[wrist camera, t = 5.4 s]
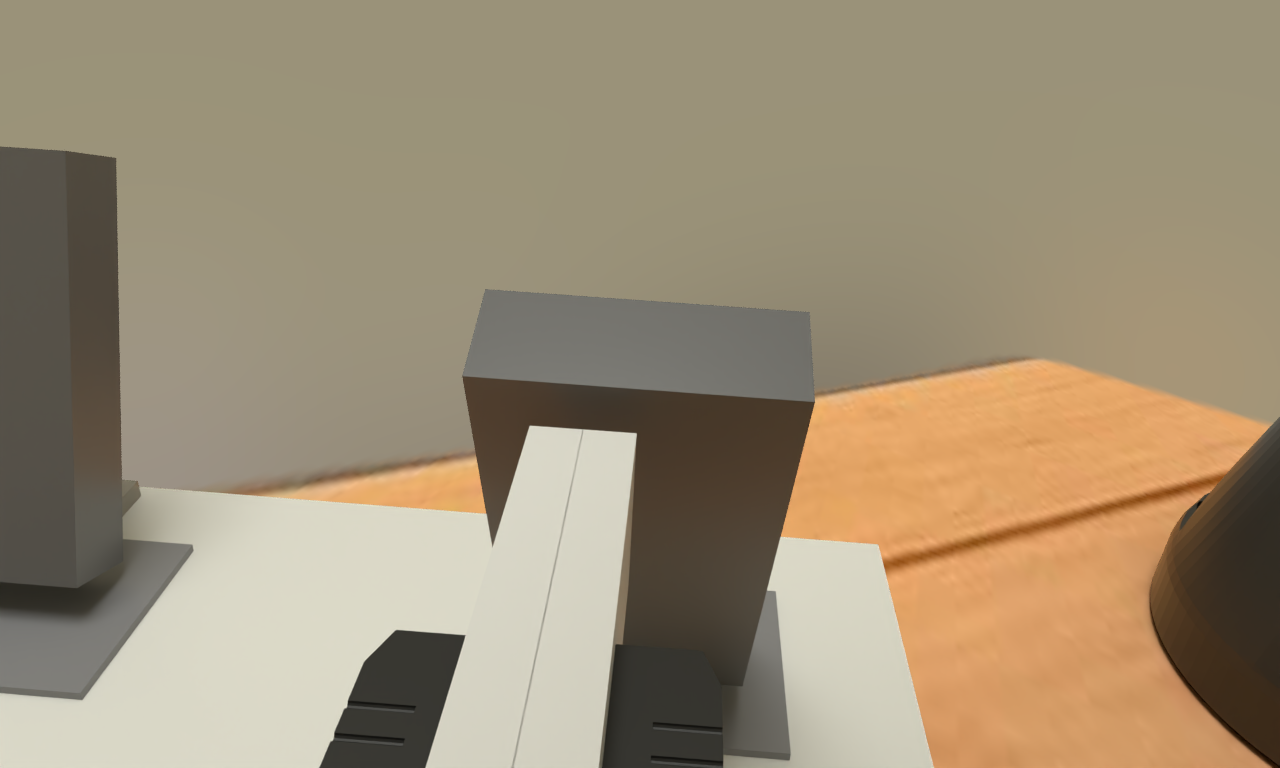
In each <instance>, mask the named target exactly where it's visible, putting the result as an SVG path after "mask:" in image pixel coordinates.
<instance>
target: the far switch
mask: <svg viewBox="0 0 1280 768" xmlns="http://www.w3.org/2000/svg"><path fill="white" fill-rule="evenodd" d="M116 187H117V186H116V158H112V157H104V156H97V155H90V154H83V153H76V152H69V151H57V150H42V149H27V148H12V147H0V582H7V583H19V584H32V585H44V586H56V587H68V588H78V587H80V586H82V585H83V584H85V583H87V582H88V581H90V580H92V579H94V578H95V577H97V576H99V575H100V574H102V573H104V572H106V571H107V570H109V569H111V568H112V567H114V566H116V565H118V564H119V563H121V562H123V520H122V465H121V411H120V410H121V409H120V353H119V300H118V299H119V298H118V247H117V246H118V243H117V191H116V190H117V189H116Z"/></svg>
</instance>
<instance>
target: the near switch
mask: <svg viewBox="0 0 1280 768" xmlns="http://www.w3.org/2000/svg"><path fill="white" fill-rule="evenodd" d="M463 383H464V388H465V394H466V400H467V406H468V411H469V416H470V422H471V428H472V434H473V440H474V445H475V451H476V457H477V463H478V468H479V474H480V480H481V485H482V491H483V497H484V502H485V508H486V514H487V520H488V525H489V531H490V537H491V542H492V548H493V545H494V541H495V538H496V535H497V531H498V528H499V525H500V522H501V518H502V515H503V512H504V508H505V505H506V502H507V499H508V495H509V492H510V489H511V485H512V482H513V479H514V476H515V472H516V469H517V466H518V462H519V459H520V456H521V453H522V449H523V446H524V443H525V440H526V436H527V433H528V430H529V426H541V427H556V428H570V429H584V430H598V431H612V432H626V433H637V439H636V457H635V475H634V494H633V512H632V530H631V549H630V567H629V585H628V595H627V605H626V614H625V624H624V634H623V644H622V645H634V646H647V647H660V648H673V649H686V650H699V651H703V652H704V654H705V656H706V658H707V660H708V662H709V664H710V666H711V668H712V669H713V671H714V673H715V675H716V677H717V679H718V681H719V683H720V685H730V686H743V682H744V679H745V675H746V671H747V667H748V663H749V659H750V655H751V651H752V647H753V643H754V639H755V635H756V631H757V627H758V623H759V620H760V616H761V612H762V608H763V604H764V600H765V596H766V592H767V588H768V584H769V580H770V576H771V572H772V568H773V564H774V561H775V557H776V553H777V549H778V545H779V541H780V537H781V533H782V529H783V525H784V521H785V517H786V513H787V509H788V505H789V502H790V498H791V494H792V490H793V486H794V482H795V478H796V474H797V470H798V466H799V462H800V458H801V454H802V450H803V446H804V443H805V439H806V435H807V431H808V427H809V423H810V419H811V415H812V411H813V407H814V403H815V397H814V380H813V363H812V346H811V329H810V313H809V312H799V311H785V310H784V311H783V310H769V309H756V308H742V307H728V306H714V305H699V304H685V303H671V302H656V301H643V300H628V299H614V298H600V297H587V296H572V295H557V294H544V293H530V292H516V291H501V290H488V289H486V290H485V293H484V297H483V301H482V304H481V308H480V312H479V315H478V319H477V323H476V327H475V330H474V334H473V338H472V342H471V345H470V349H469V353H468V357H467V361H466V364H465V368H464V372H463Z"/></svg>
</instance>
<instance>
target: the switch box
mask: <svg viewBox="0 0 1280 768" xmlns="http://www.w3.org/2000/svg"><path fill="white" fill-rule="evenodd" d="M122 520H123V562H121V563H119V564H118V565H116V566H114V567H112V568H111V569H109V570H107V571H106V572H104V573H102V574H100V575H99V576H97V577H95V578H94V579H92V580H90V581H88V582H87V583H85V584H83V585H82V586H80V587H78V588H68V587H56V586H44V585H32V584H19V583H7V582H0V768H319V767H320V765H321V763H322V760H323V758H324V755H325V753H326V751H327V748H328V746H329V744H330V741H333V738H334V732H335V729H336V727H337V725H338V722H339V720H340V717H341V715H342V713H343V710H344V708H347V704H348V699H349V696H350V694H351V691H352V689H353V687H354V684H355V682H356V680H357V677H358V675H359V672H360V670H361V668H362V665H363V663H364V661H365V660H366V659H367V658H368V657H369V656H370V655H371V654H372V653H373V652H374V651H375V650H376V649H377V648H378V647H379V646H380V645H381V644H382V643H383V642H384V641H385V640H386V639H387V638H388V637H389V636H390V635H391V634H392V633H393V632H394V631H395V630H405V631H418V632H431V633H444V634H457V635H466V633H467V630H468V627H469V623H470V620H471V617H472V613H473V610H474V607H475V604H476V600H477V597H478V594H479V590H480V587H481V584H482V581H483V577H484V574H485V571H486V567H487V564H488V561H489V558H490V554H491V551H492V542H491V537H490V531H489V525H488V520H487V514H481V513H468V512H455V511H442V510H429V509H417V508H404V507H391V506H378V505H365V504H353V503H340V502H327V501H314V500H301V499H289V498H276V497H263V496H250V495H237V494H225V493H212V492H199V491H186V490H173V489H161V488H148V487H139V485H138V481H131V480H122ZM721 686H722V719H723V730H722V735H723V768H934V767H933V763H932V759H931V755H930V750H929V746H928V742H927V738H926V734H925V730H924V726H923V722H922V718H921V714H920V710H919V706H918V702H917V698H916V694H915V690H914V686H913V682H912V678H911V674H910V670H909V666H908V662H907V658H906V654H905V650H904V646H903V642H902V638H901V634H900V630H899V626H898V622H897V618H896V614H895V610H894V606H893V602H892V598H891V594H890V590H889V586H888V582H887V578H886V574H885V570H884V566H883V562H882V558H881V554H880V550H879V546H878V545H877V544H865V543H852V542H839V541H826V540H813V539H801V538H788V537H780V541H779V545H778V549H777V553H776V557H775V561H774V564H773V568H772V572H771V576H770V580H769V584H768V588H767V592H766V596H765V600H764V604H763V608H762V612H761V616H760V620H759V623H758V627H757V631H756V635H755V639H754V643H753V647H752V651H751V655H750V659H749V663H748V667H747V671H746V675H745V679H744V682H743V686H730V685H721Z"/></svg>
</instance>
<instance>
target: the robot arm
mask: <svg viewBox="0 0 1280 768" xmlns="http://www.w3.org/2000/svg"><path fill="white" fill-rule="evenodd" d="M636 439H637V433H626V432H612V431H598V430H584V429H570V428H556V427H541V426H529V430H528V433H527V436H526V440H525V443H524V446H523V449H522V453H521V456H520V459H519V462H518V466H517V469H516V472H515V476H514V479H513V482H512V485H511V489H510V492H509V495H508V499H507V502H506V505H505V508H504V512H503V515H502V518H501V522H500V525H499V528H498V531H497V535H496V538H495V541H494V545H493V548H492V551H491V554H490V558H489V561H488V564H487V567H486V571H485V574H484V577H483V581H482V584H481V587H480V590H479V594H478V597H477V600H476V604H475V607H474V610H473V613H472V617H471V620H470V623H469V627H468V630H467V633H466V635H457V634H444V633H431V632H418V631H405V630H395V631H394V632H393V633H392V634H391V635H390V636H389V637H388V638H387V639H386V640H385V641H384V642H383V643H382V644H381V645H380V646H379V647H378V648H377V649H376V650H375V651H374V652H373V653H372V654H371V655H370V656H369V657H368V658H367V659H366V660H365V661H364V663H363V665H362V668H361V670H360V672H359V675H358V677H357V680H356V682H355V684H354V687H353V689H352V691H351V694H350V696H349V699H348V704H347V708H344V710H343V713H342V715H341V717H340V720H339V722H338V725H337V727H336V729H335V732H334V738H333V741H330V744H329V746H328V748H327V751H326V753H325V755H324V758H323V760H322V763H321V765H320V767H319V768H723V735H722V730H723V719H722V686H721V685H720V683H719V681H718V679H717V677H716V675H715V673H714V671H713V669H712V668H711V666H710V664H709V662H708V660H707V658H706V656H705V654H704V652H703V651H699V650H686V649H673V648H660V647H647V646H634V645H622V644H623V634H624V624H625V614H626V605H627V595H628V585H629V567H630V549H631V530H632V512H633V494H634V475H635V457H636ZM1150 601H1151V610H1152V615H1153V619H1154V622H1155V625H1156V628H1157V631H1158V633H1159V635H1160V638H1161V640H1162V642H1163V644H1164V646H1165V648H1166V650H1167V652H1168V653H1169V655H1170V657H1171V658H1172V660H1173V661H1174V663H1175V664H1176V666H1177V667H1178V669H1179V670H1180V671H1181V673H1182V674H1183V676H1184V677H1185V678H1186V680H1187V681H1188V682H1189V683H1190V685H1191V686H1192V687H1193V688H1194V689H1195V691H1196V692H1197V693H1198V694H1199V695H1200V696H1201V697H1202V698H1203V700H1204V701H1205V702H1206V703H1207V704H1208V705H1209V706H1210V707H1211V708H1212V709H1213V710H1214V711H1215V712H1216V713H1217V714H1218V715H1219V716H1220V717H1221V718H1222V719H1223V720H1224V721H1225V722H1226V723H1227V724H1229V725H1230V726H1231V727H1232V728H1233V729H1234V730H1235V731H1236V732H1237V733H1239V734H1240V735H1241V736H1242V737H1243V738H1244V739H1246V740H1247V741H1248V742H1249V743H1250V744H1252V745H1253V746H1254V747H1255V748H1257V749H1258V750H1259V751H1260V752H1262V753H1263V754H1264V755H1266V756H1267V757H1268V758H1270V759H1271V760H1272V761H1274V762H1275V763H1276V764H1278V765H1279V766H1280V417H1279V418H1278V419H1277V420H1276V422H1274V424H1273V425H1272V426H1271V427H1270V428H1269V429H1268V430H1267V431H1266V432H1265V433H1264V434H1263V435H1262V436H1261V437H1260V438H1259V439H1258V441H1257V442H1256V443H1255V444H1254V445H1253V446H1252V447H1251V448H1250V449H1249V450H1248V451H1247V452H1246V453H1245V454H1244V455H1243V456H1242V457H1241V459H1240V460H1239V461H1238V462H1237V463H1236V464H1235V465H1234V466H1233V467H1232V468H1231V470H1230V471H1229V472H1228V473H1227V474H1226V475H1225V476H1224V477H1223V479H1222V480H1221V481H1220V482H1219V483H1218V484H1217V485H1216V487H1215V488H1214V489H1213V490H1212V491H1211V492H1210V493H1208V494H1206V495H1204V496H1203V497H1202V498H1201V499H1200V500H1199V501H1197V502H1196V503H1195V504H1194V505H1193V506H1192V507H1190V508H1189V509H1188V510H1187V511H1186V512H1185V513H1184V514H1183V515H1182V517H1181V518H1180V519H1179V521H1178V522H1177V524H1176V525H1175V527H1174V529H1173V531H1172V532H1171V534H1170V537H1169V539H1168V542H1167V544H1166V547H1165V549H1164V552H1163V554H1162V557H1161V559H1160V562H1159V564H1158V567H1157V569H1156V572H1155V574H1154V577H1153V580H1152V584H1151V592H1150Z"/></svg>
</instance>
